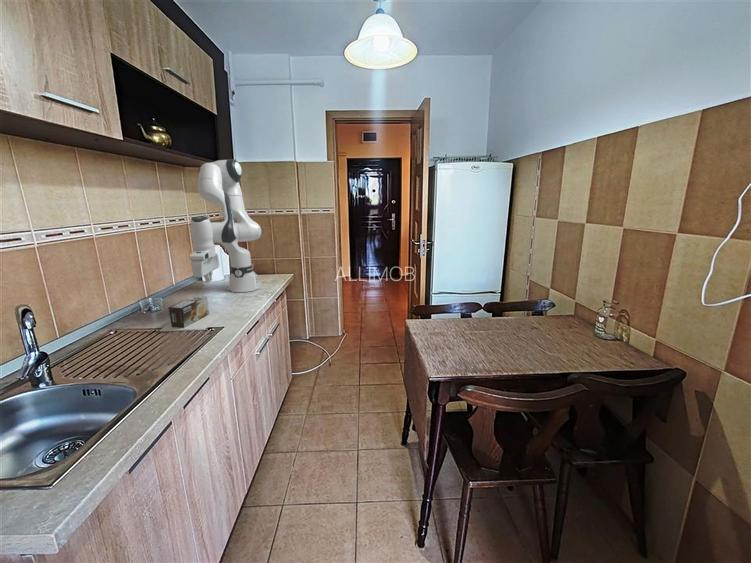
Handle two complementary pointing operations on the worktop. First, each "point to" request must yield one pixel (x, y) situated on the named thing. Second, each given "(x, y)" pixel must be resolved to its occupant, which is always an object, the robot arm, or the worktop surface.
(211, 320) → the mat
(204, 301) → the coffee box
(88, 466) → the worktop surface
